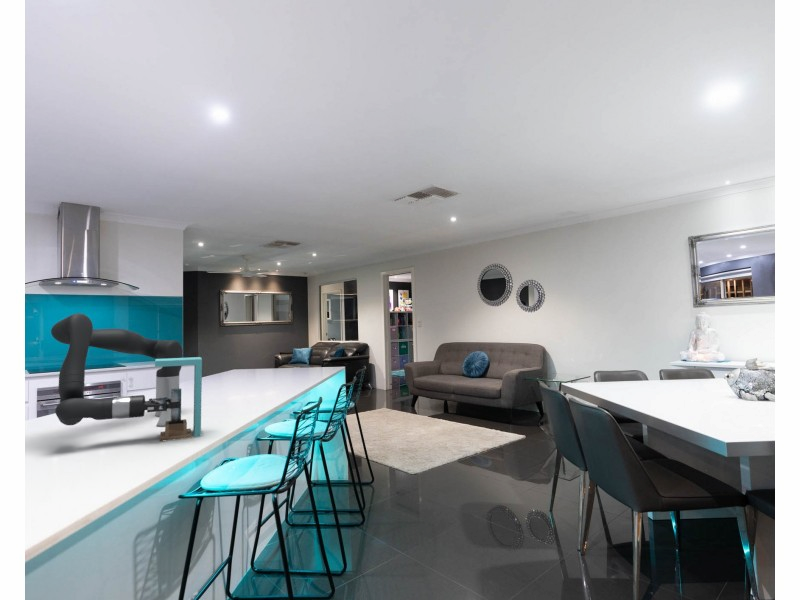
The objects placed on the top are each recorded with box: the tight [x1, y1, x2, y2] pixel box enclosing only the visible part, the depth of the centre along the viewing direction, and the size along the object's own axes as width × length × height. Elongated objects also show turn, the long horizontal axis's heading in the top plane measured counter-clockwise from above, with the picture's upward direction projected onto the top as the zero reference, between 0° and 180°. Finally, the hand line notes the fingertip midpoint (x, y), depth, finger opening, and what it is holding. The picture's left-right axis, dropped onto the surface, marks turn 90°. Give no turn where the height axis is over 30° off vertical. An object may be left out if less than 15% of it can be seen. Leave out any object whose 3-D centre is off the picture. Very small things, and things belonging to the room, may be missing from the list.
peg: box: [171, 387, 182, 424], centre depth 156 cm, size 3×3×16 cm
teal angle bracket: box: [154, 356, 203, 438], centre depth 157 cm, size 10×15×28 cm, turn 118°
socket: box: [159, 418, 193, 442], centre depth 156 cm, size 10×10×5 cm
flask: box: [156, 409, 171, 427], centre depth 173 cm, size 7×7×10 cm
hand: (180, 402), depth 157 cm, fingers open, 8 cm apart
